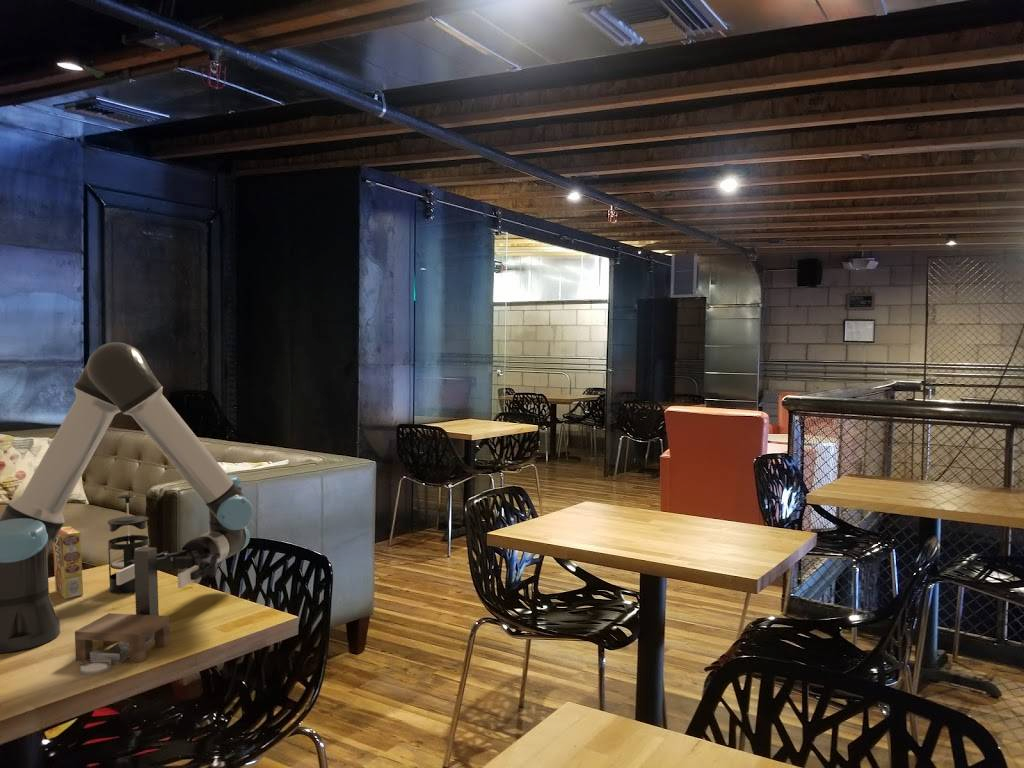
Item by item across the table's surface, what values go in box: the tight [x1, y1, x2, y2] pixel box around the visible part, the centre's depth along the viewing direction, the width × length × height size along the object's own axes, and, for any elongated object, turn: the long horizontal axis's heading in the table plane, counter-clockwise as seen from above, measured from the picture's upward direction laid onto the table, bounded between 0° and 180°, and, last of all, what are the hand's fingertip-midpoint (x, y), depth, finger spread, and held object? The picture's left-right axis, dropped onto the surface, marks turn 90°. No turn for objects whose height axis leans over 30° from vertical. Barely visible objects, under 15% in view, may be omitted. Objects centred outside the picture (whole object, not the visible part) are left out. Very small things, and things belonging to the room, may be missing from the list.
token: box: [79, 657, 112, 676], centre depth 144 cm, size 5×5×2 cm
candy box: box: [52, 526, 84, 599], centre depth 187 cm, size 9×4×15 cm, turn 44°
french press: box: [107, 493, 150, 595], centre depth 191 cm, size 12×9×23 cm
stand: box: [74, 612, 171, 664], centre depth 152 cm, size 13×10×6 cm
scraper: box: [89, 546, 160, 665], centre depth 153 cm, size 6×15×18 cm, turn 172°
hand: (148, 579), depth 159 cm, fingers open, 13 cm apart
